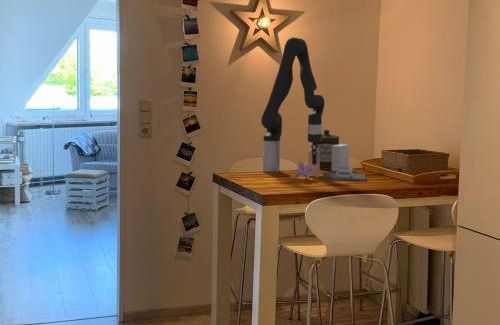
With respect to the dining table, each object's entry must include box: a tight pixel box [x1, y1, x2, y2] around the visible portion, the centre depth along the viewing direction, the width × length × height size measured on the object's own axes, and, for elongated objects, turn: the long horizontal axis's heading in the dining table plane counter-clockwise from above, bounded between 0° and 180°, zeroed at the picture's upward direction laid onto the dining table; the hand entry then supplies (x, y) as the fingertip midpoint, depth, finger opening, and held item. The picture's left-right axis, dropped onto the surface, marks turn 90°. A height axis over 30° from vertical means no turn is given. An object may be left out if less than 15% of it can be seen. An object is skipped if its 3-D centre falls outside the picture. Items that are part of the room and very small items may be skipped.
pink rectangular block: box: [307, 149, 321, 178], centre depth 329 cm, size 6×4×14 cm, turn 82°
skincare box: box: [331, 143, 350, 173], centre depth 345 cm, size 8×6×15 cm
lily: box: [292, 161, 316, 181], centre depth 318 cm, size 12×12×10 cm
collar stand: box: [322, 166, 367, 182], centre depth 325 cm, size 22×16×5 cm
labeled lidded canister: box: [317, 129, 340, 170], centre depth 359 cm, size 15×15×22 cm
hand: (314, 163), depth 329 cm, fingers open, 8 cm apart
